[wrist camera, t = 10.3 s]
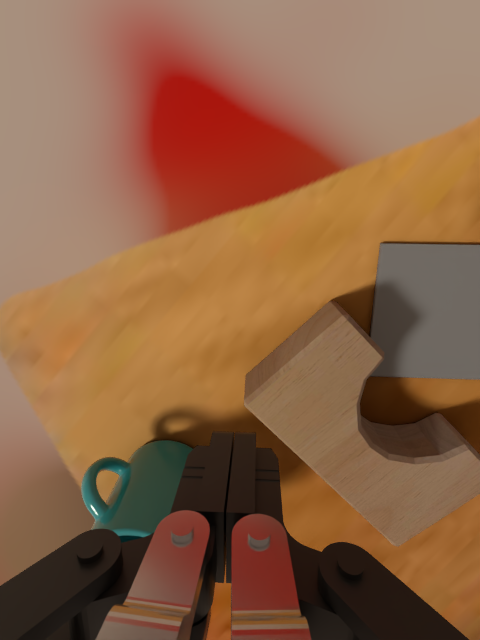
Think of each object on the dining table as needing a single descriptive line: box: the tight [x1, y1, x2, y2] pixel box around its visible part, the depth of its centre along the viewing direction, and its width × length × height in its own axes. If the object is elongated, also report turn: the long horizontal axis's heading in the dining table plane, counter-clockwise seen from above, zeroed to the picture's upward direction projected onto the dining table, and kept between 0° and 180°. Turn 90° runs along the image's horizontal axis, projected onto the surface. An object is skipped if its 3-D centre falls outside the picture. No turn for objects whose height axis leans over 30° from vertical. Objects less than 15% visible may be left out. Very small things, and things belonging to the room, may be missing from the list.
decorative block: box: [244, 301, 480, 546], centre depth 31 cm, size 11×6×20 cm
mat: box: [369, 243, 480, 379], centre depth 31 cm, size 16×12×1 cm
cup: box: [81, 440, 193, 543], centre depth 31 cm, size 9×12×11 cm
